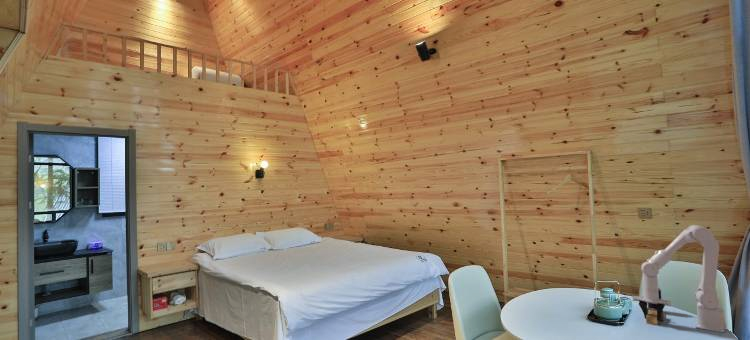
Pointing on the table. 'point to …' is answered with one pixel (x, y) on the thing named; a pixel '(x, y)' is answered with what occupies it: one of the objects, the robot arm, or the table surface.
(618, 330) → the table surface
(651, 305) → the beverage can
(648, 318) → the orange brown rectangular block
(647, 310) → the dispenser
